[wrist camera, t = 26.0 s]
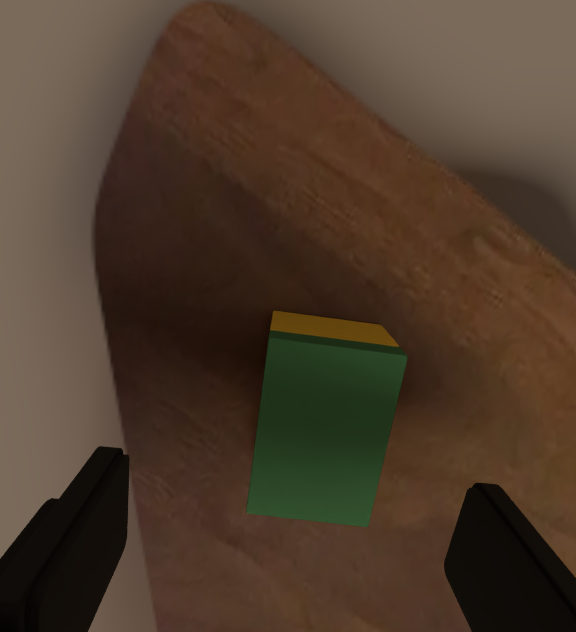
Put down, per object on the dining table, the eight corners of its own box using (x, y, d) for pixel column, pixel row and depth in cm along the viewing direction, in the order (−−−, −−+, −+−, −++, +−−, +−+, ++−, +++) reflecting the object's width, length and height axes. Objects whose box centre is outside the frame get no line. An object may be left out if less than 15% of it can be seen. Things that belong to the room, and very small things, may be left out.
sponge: (352, 464, 19) (368, 527, 15) (254, 452, 19) (245, 513, 15) (381, 324, 17) (408, 356, 13) (273, 310, 17) (268, 337, 13)
